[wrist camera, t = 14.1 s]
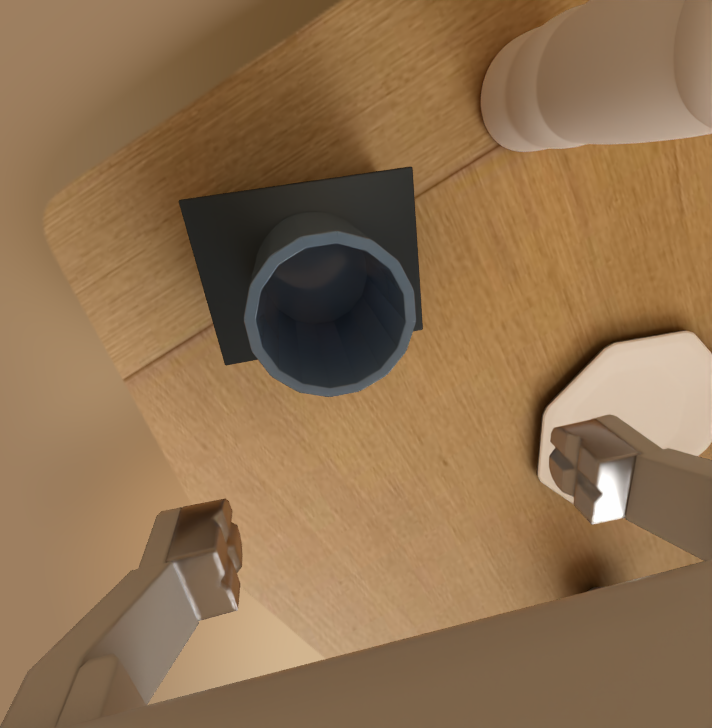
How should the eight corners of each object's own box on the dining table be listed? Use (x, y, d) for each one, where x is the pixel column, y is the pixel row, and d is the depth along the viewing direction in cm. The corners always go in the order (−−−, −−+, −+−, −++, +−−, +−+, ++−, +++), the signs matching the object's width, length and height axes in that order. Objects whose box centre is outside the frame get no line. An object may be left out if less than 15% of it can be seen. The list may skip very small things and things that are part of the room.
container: (236, 324, 34) (224, 365, 26) (202, 193, 30) (178, 200, 22) (393, 297, 35) (423, 329, 28) (381, 167, 31) (412, 166, 24)
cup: (269, 335, 26) (266, 409, 18) (243, 221, 23) (225, 248, 15) (377, 316, 27) (420, 380, 19) (364, 202, 24) (409, 219, 16)
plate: (743, 397, 46) (757, 404, 44) (604, 522, 50) (613, 532, 49) (647, 288, 38) (660, 293, 37) (494, 446, 43) (501, 455, 42)
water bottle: (473, 45, 29) (1186, -412, 6) (573, 27, 29) (1563, -455, 7) (479, 160, 32) (970, 137, 9) (569, 142, 32) (1243, 77, 10)
